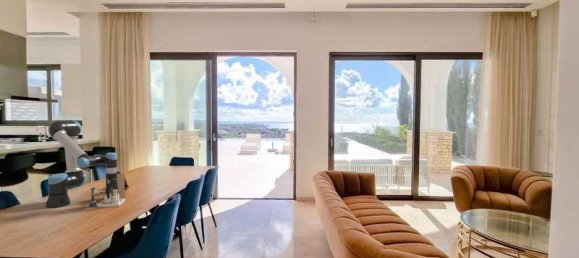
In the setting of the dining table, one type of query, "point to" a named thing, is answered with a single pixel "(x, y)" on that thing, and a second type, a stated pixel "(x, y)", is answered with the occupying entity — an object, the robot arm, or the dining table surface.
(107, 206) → the tray
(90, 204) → the grey lever faucet
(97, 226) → the dining table surface
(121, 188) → the wooden block
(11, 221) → the dining table surface
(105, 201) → the collar
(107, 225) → the dining table surface
